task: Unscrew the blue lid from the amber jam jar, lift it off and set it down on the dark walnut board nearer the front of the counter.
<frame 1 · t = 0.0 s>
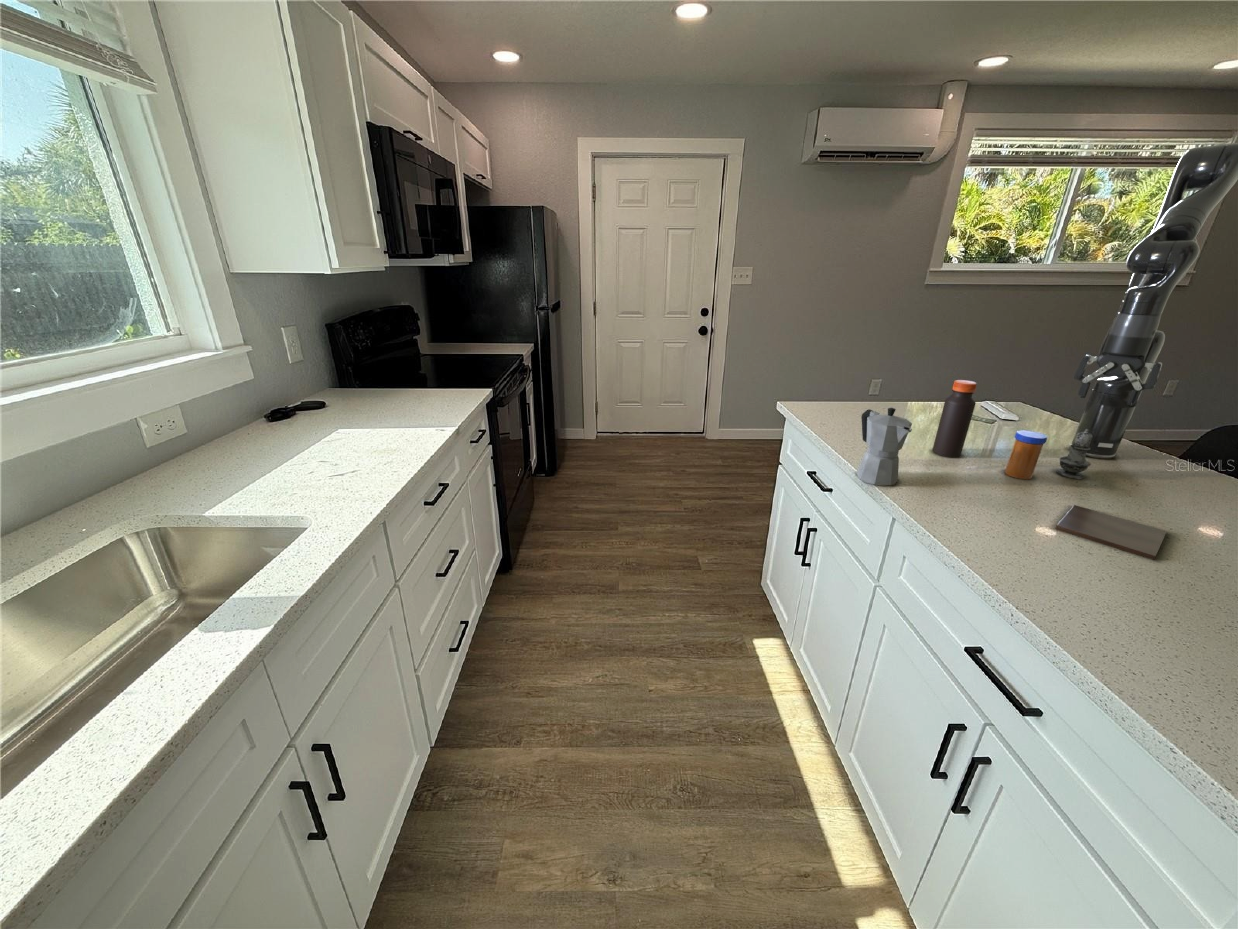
hand: (1105, 401, 121), 17 cm above the counter, tool pointing down, fingers open, 8 cm apart
coffeepot: (873, 477, 122), on the counter
jar: (1018, 474, 122), on the counter
board: (1109, 531, 97), on the counter
lid: (1031, 435, 118), point 10 cm above the counter, screwed on, not yet turned
bottle: (945, 453, 136), on the counter
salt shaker: (1069, 475, 122), on the counter
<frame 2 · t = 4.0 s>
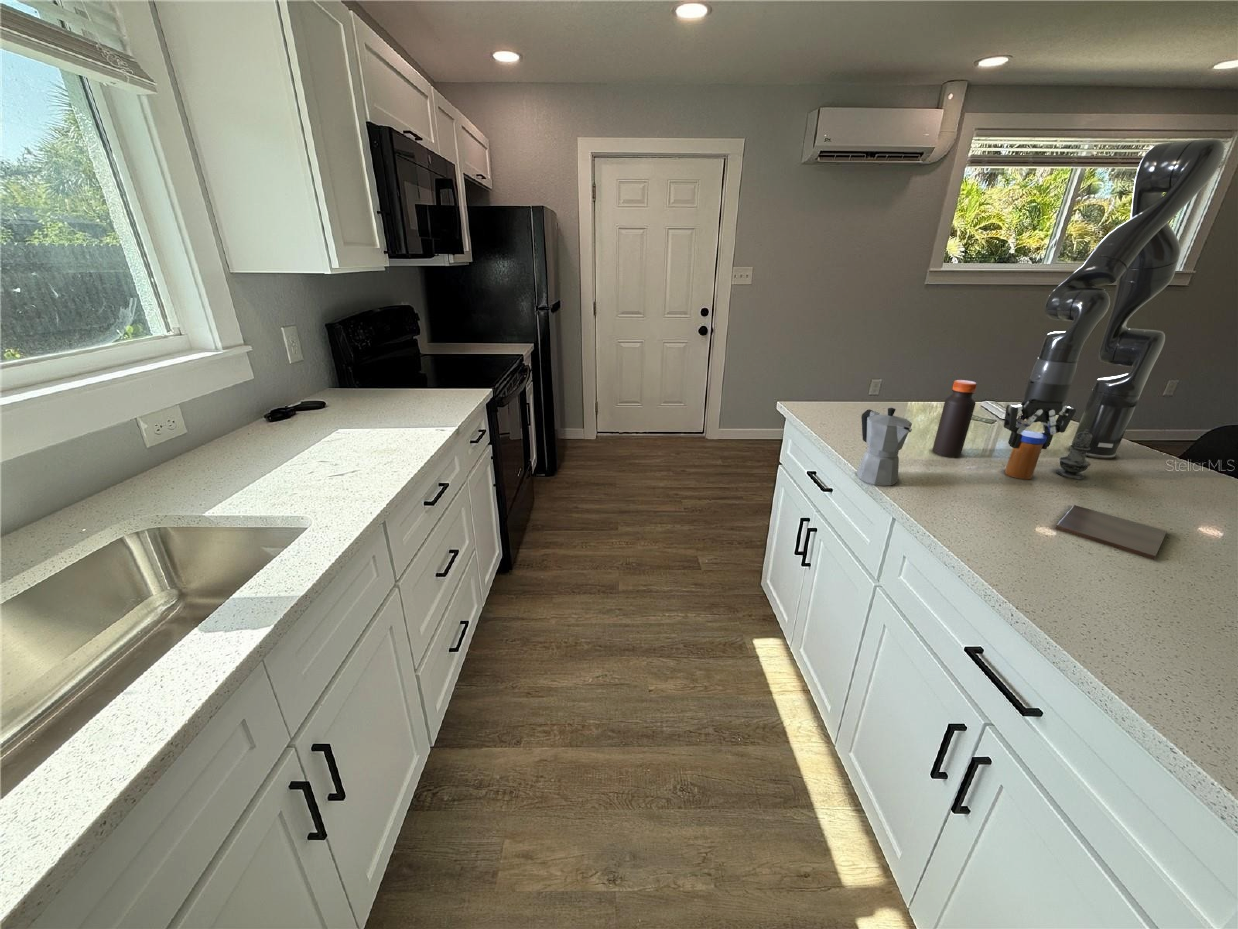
hand: (1027, 447, 119), 7 cm above the counter, tool pointing down, fingers closed on lid, 5 cm apart
lid: (1031, 435, 118), point 10 cm above the counter, screwed on, not yet turned, touching gripper
everything else where it was.
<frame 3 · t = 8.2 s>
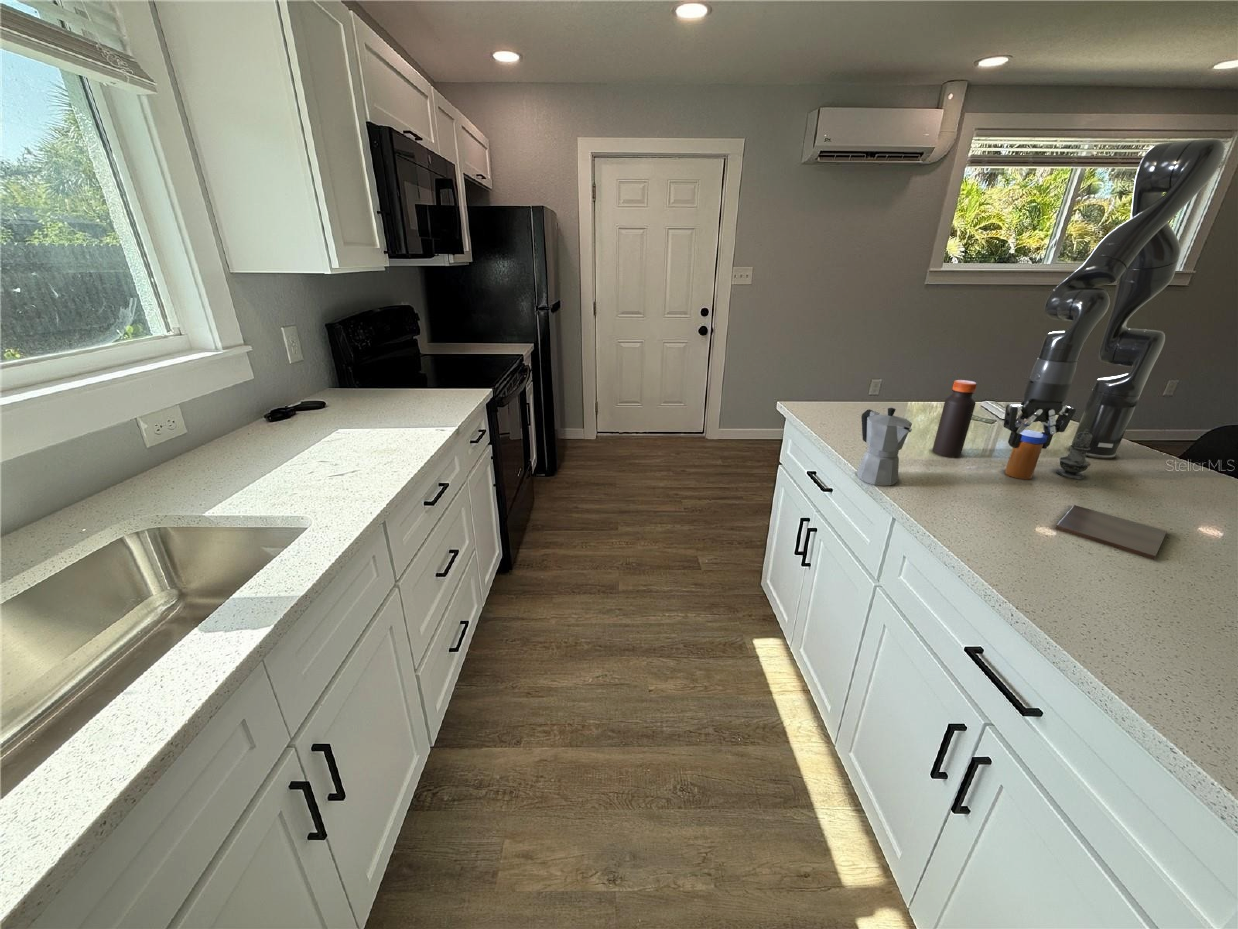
hand: (1027, 447, 119), 7 cm above the counter, tool pointing down, fingers closed on lid, 5 cm apart
lid: (1031, 435, 118), point 10 cm above the counter, turned 88° so far, risen 0.1 cm, still on its thread, touching gripper
everything else where it was.
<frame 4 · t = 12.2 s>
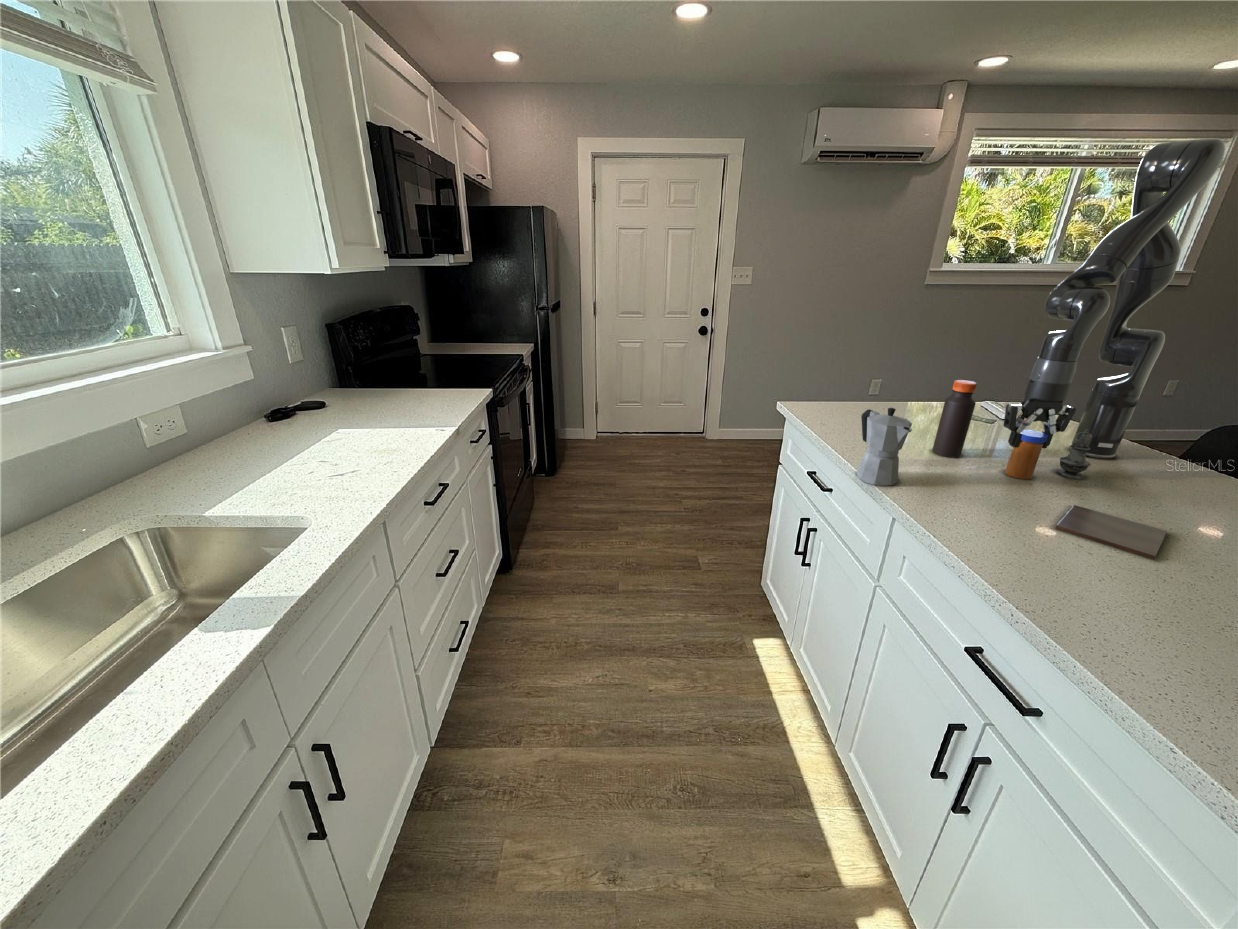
hand: (1027, 446, 119), 8 cm above the counter, tool pointing down, fingers closed on lid, 5 cm apart
lid: (1031, 434, 118), point 11 cm above the counter, turned 177° so far, risen 0.2 cm, still on its thread, touching gripper
everything else where it was.
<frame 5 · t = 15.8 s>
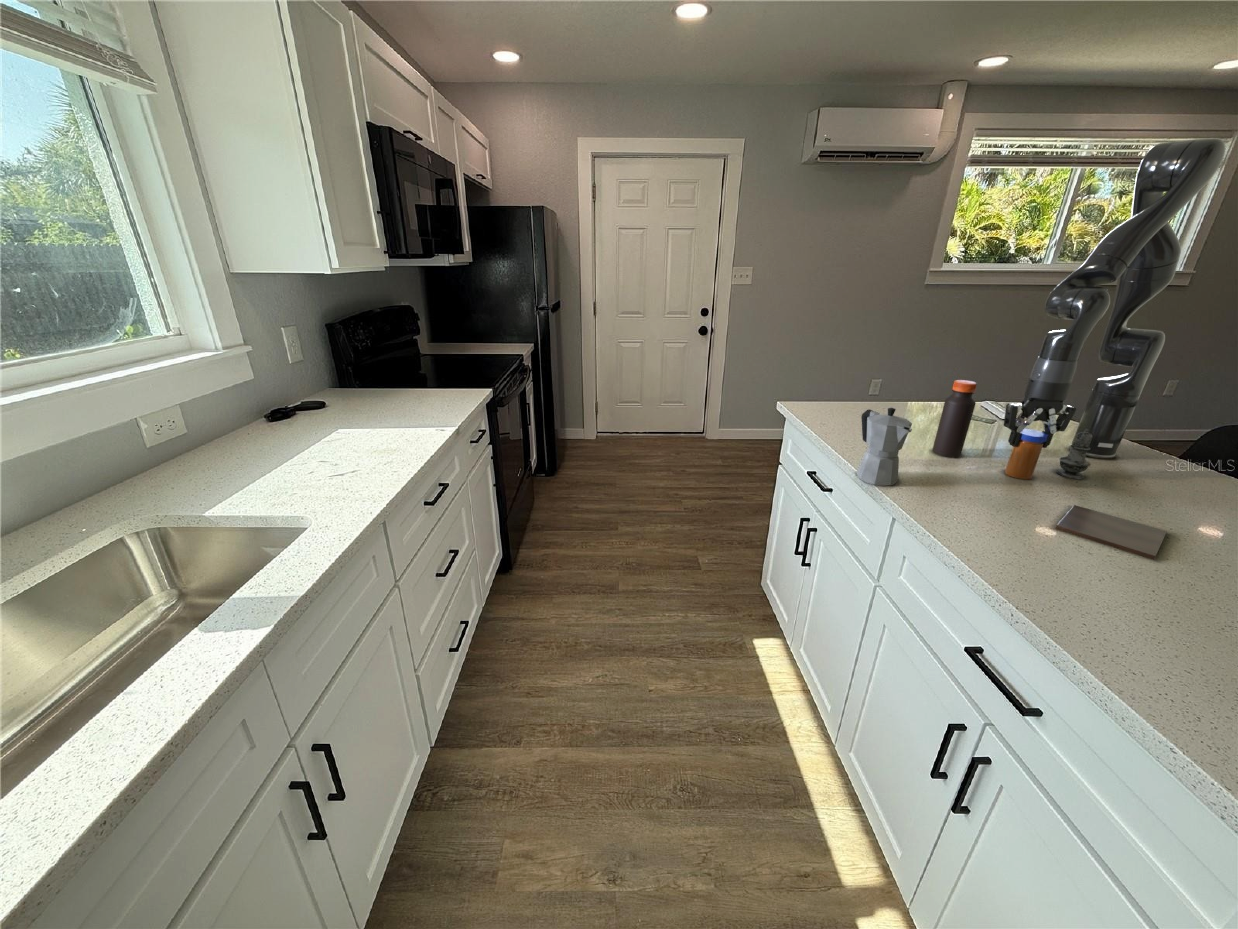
hand: (1027, 446, 119), 8 cm above the counter, tool pointing down, fingers closed on lid, 6 cm apart
lid: (1031, 434, 118), point 11 cm above the counter, turned 266° so far, risen 0.4 cm, still on its thread, touching gripper
everything else where it was.
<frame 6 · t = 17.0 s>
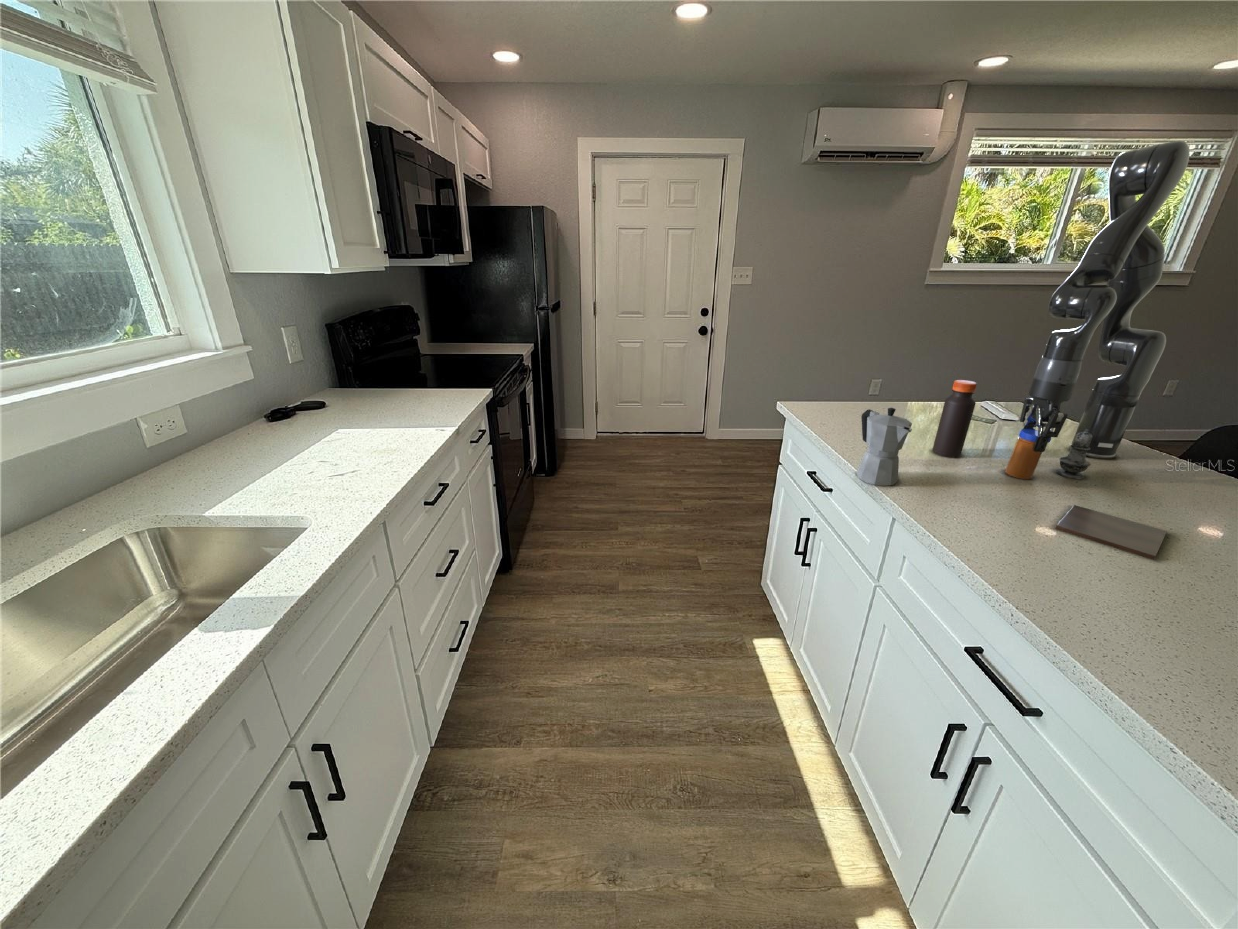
hand: (1031, 446, 118), 8 cm above the counter, tool pointing down, fingers closed on lid, 5 cm apart
lid: (1035, 434, 117), point 11 cm above the counter, off its thread, touching gripper
everything else where it was.
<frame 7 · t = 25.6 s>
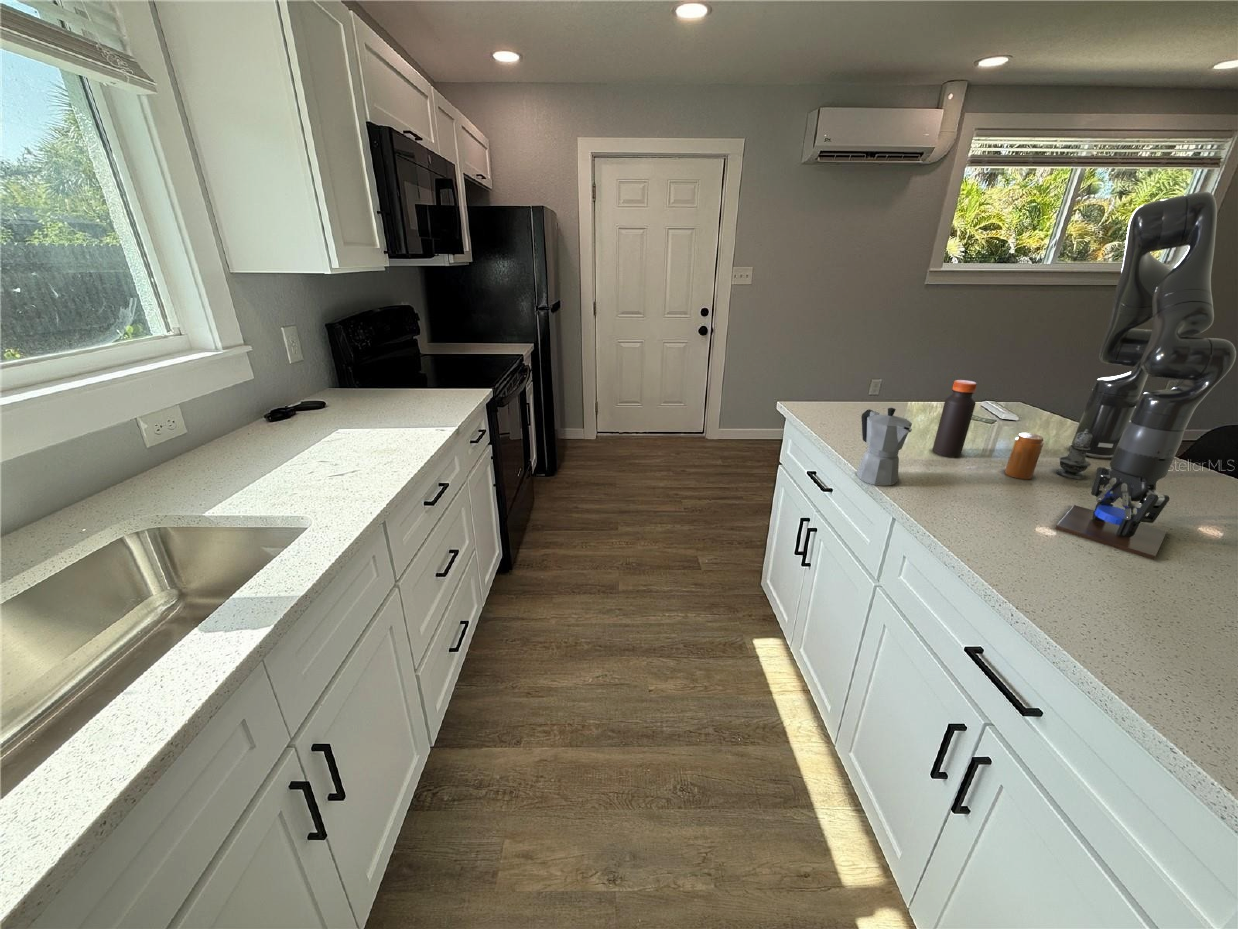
hand: (1110, 527, 96), 1 cm above the counter, tool pointing down, fingers closed on lid, 5 cm apart
lid: (1116, 514, 95), point 4 cm above the counter, off its thread, touching gripper
everything else where it was.
when the fingers open (2 cm above the counter, at t = 35.0 s): lid drops 3 cm, resting on board.
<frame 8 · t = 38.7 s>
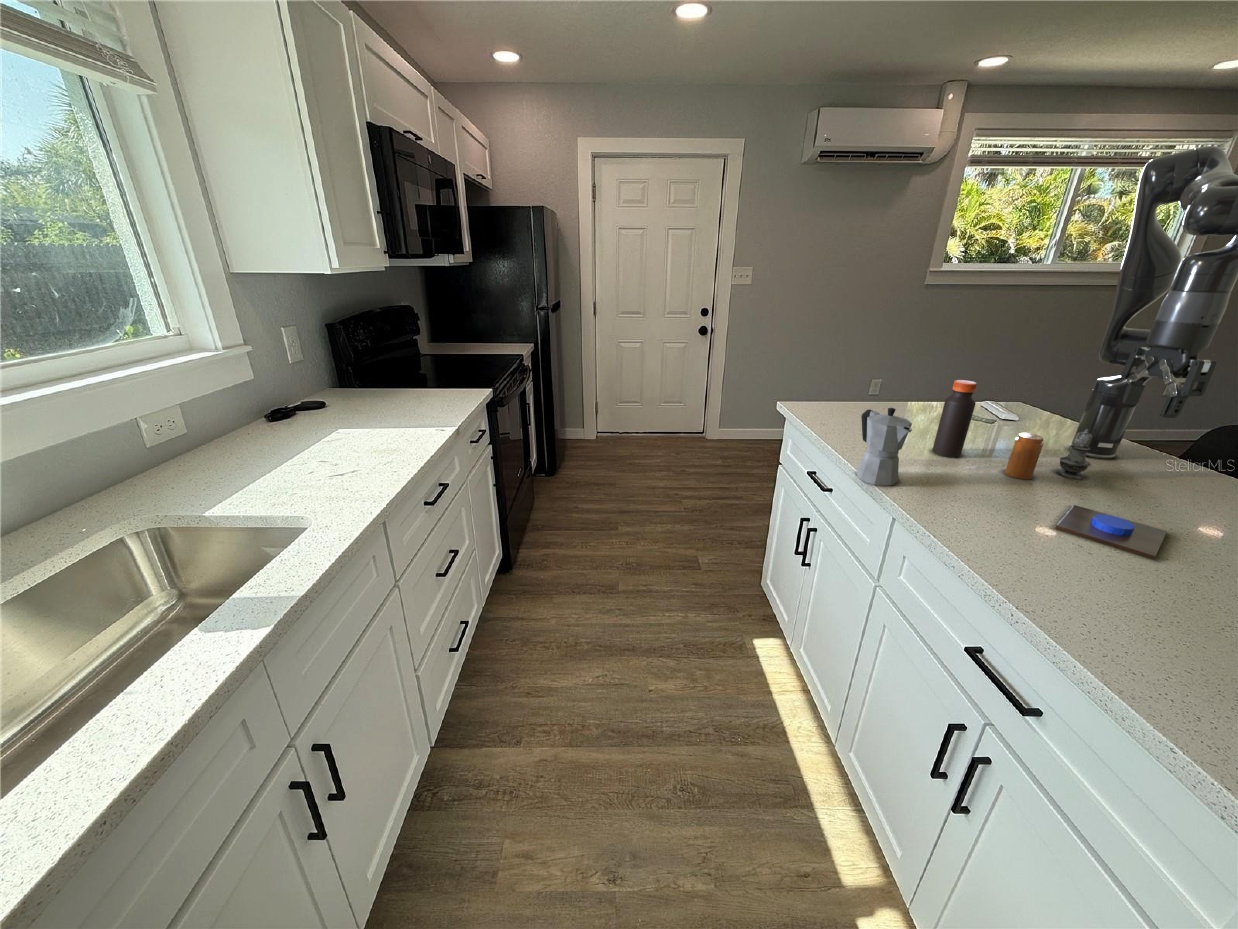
hand: (1147, 410, 90), 24 cm above the counter, tool pointing down, fingers open, 8 cm apart
lid: (1113, 523, 96), point 2 cm above the counter, off its thread, touching board
everything else where it was.
at the end: lid came off its thread; lid inside the target area on the board (0.1 cm from its centre), point 1.9 cm above the board's base; the gripper is holding nothing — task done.
